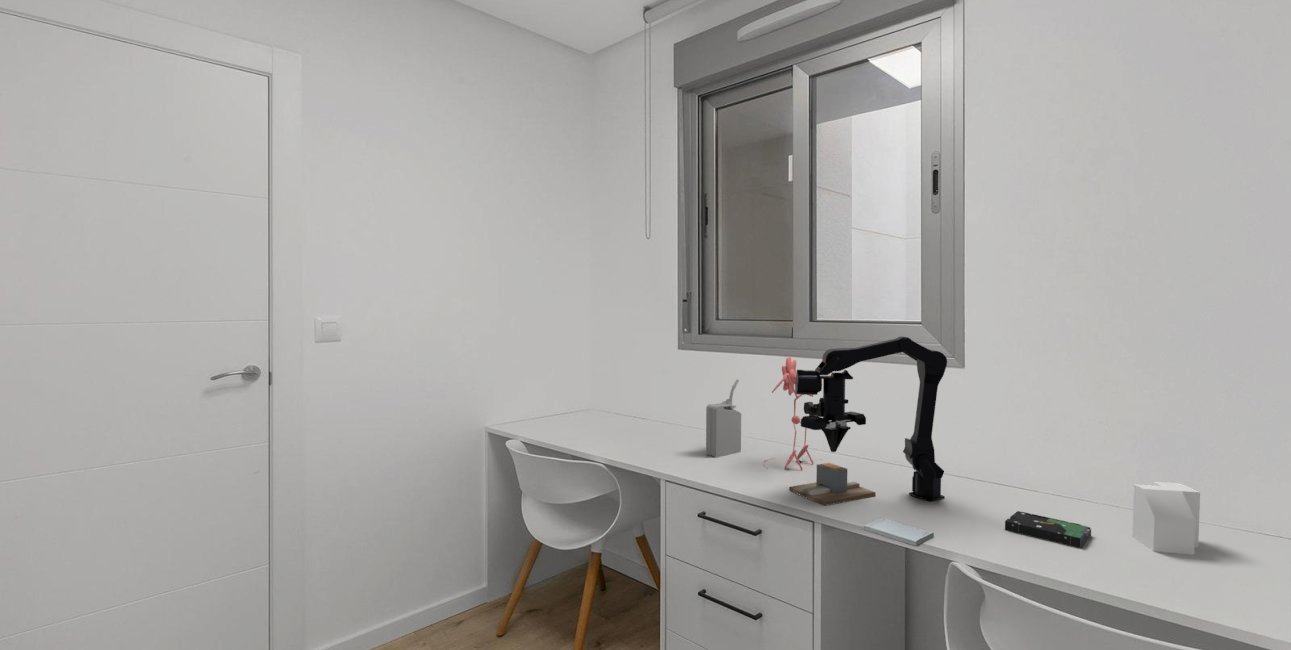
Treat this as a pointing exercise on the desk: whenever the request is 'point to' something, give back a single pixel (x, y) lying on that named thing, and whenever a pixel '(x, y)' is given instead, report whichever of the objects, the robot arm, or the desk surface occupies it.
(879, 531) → the hard drive
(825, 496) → the mounting board
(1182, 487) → the corner bracket
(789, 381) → the pink flower figurine
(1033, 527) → the disk drive
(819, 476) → the block
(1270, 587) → the desk surface
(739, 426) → the fuel canister
